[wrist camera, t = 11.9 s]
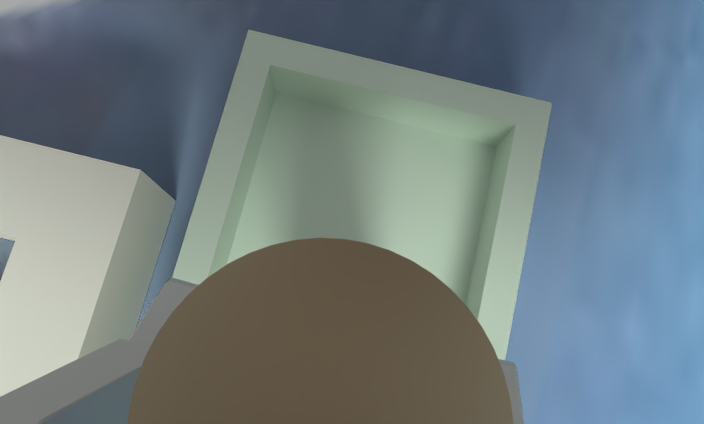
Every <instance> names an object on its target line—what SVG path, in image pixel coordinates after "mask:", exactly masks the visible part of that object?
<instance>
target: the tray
mask: <svg viewBox="0 0 704 424" xmlns="http://www.w3.org/2000/svg"><path fill="white" fill-rule="evenodd" d="M551 107H552V103H550V102H546V101H542V100H538V99H534V98H530V97H526V96H522V95H517V94H513V93H509V92H505V91H501V90H497V89H493V88H488V87H484V86H480V85H476V84H472V83H468V82H464V81H460V80H455V79H451V78H447V77H443V76H439V75H435V74H431V73H426V72H422V71H418V70H414V69H410V68H406V67H402V66H398V65H393V64H389V63H385V62H381V61H377V60H373V59H369V58H364V57H360V56H356V55H352V54H348V53H344V52H340V51H336V50H331V49H327V48H323V47H319V46H315V45H311V44H307V43H302V42H298V41H294V40H290V39H286V38H282V37H278V36H274V35H269V34H265V33H261V32H257V31H253V30H249V29H248V33H247V36H246V39H245V42H244V46H243V49H242V52H241V55H240V59H239V62H238V65H237V68H236V72H235V75H234V78H233V81H232V85H231V88H230V91H229V94H228V97H227V101H226V104H225V107H224V110H223V114H222V117H221V120H220V123H219V127H218V130H217V133H216V136H215V140H214V143H213V146H212V149H211V153H210V156H209V159H208V162H207V166H206V169H205V172H204V175H203V179H202V182H201V185H200V188H199V192H198V195H197V198H196V201H195V205H194V208H193V211H192V214H191V218H190V221H189V224H188V227H187V231H186V234H185V237H184V240H183V244H182V247H181V250H180V253H179V257H178V260H177V263H176V266H175V270H174V273H173V276H172V278H176V279H180V280H183V281H187V282H190V283H194V284H197V285H199V284H201V283H202V282H203V281H204V280H205V279H206V278H208V277H209V276H210V275H212V274H213V273H215V272H216V271H218V270H219V269H221V268H222V267H224V266H225V265H227V264H228V263H230V262H232V261H234V260H236V259H238V258H240V257H242V256H244V255H246V254H248V253H250V252H253V251H256V250H259V249H262V248H265V247H268V246H270V245H274V244H278V243H283V242H288V241H292V240H298V239H311V238H336V239H347V240H353V241H358V242H364V243H369V244H372V245H375V246H378V247H381V248H384V249H387V250H390V251H393V252H395V253H397V254H399V255H401V256H403V257H405V258H408V259H410V260H412V261H413V262H415V263H417V264H418V265H420V266H421V267H423V268H424V269H426V270H428V271H429V272H431V273H432V274H433V275H435V276H436V277H437V278H438V279H439V280H441V281H442V282H443V283H444V284H446V285H447V286H448V287H449V288H450V289H451V290H452V291H453V292H454V293H455V294H456V295H457V296H458V297H459V298H460V299H461V300H462V301H463V302H464V304H465V305H466V306H467V307H468V308H469V310H470V311H471V312H472V314H473V315H474V316H475V318H476V319H477V321H478V322H479V323H480V325H481V326H482V328H483V330H484V331H485V333H486V335H487V337H488V339H489V340H490V342H491V344H492V346H493V348H494V350H495V352H496V355H497V357H498V359H501V360H505V358H506V352H507V347H508V341H509V336H510V330H511V325H512V319H513V314H514V308H515V303H516V298H517V292H518V287H519V281H520V276H521V270H522V265H523V259H524V254H525V249H526V243H527V238H528V232H529V227H530V221H531V216H532V210H533V205H534V199H535V194H536V189H537V183H538V178H539V172H540V167H541V161H542V156H543V150H544V145H545V140H546V134H547V129H548V123H549V118H550V112H551Z"/></svg>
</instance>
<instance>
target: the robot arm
mask: <svg viewBox="0 0 704 424" xmlns="http://www.w3.org/2000/svg"><path fill="white" fill-rule="evenodd" d="M197 286H198V285H197V284H194V283H190V282H187V281H183V280H180V279H176V278H171V279H170V280H168V281H167V282H166V283H165V285H164V286H163V288H162V289H161V291H160V292H159V294H158V295H157V297H156V298H155V300H154V301H153V303H152V304H151V306H150V308H149V309H148V311H147V312H146V314H145V315H144V317H143V318H142V320H141V321H140V323H139V324H138V326H137V327H136V329H135V331H134V332H133V334H132V335H131V337H130V338H129V340H124V339H118V340H116V341H113V342H111V343H109V344H107V345H105V346H103V347H101V348H99V349H97V350H95V351H93V352H91V353H89V354H87V355H85V356H83V357H81V358H79V359H77V360H74V361H72V362H70V363H68V364H66V365H64V366H62V367H60V368H58V369H56V370H54V371H52V372H50V373H48V374H46V375H44V376H42V377H40V378H37V379H35V380H33V381H31V382H29V383H27V384H25V385H23V386H21V387H19V388H17V389H15V390H13V391H11V392H9V393H7V394H5V395H3V396H1V397H0V424H127V423H128V414H129V406H130V402H131V398H132V394H133V390H134V386H135V382H136V379H137V376H138V374H139V371H140V369H141V366H142V363H143V361H144V358H145V356H146V354H147V352H148V350H149V348H150V346H151V344H152V343H153V341H154V339H155V337H156V335H157V333H158V332H159V330H160V329H161V327H162V326H163V325H164V323H165V322H166V320H167V319H168V317H169V316H170V315H171V313H172V312H173V311H174V310H175V309H176V307H177V306H178V305H179V304H180V303H181V302H182V301H183V300H184V299H185V297H186V296H187V295H188V294H189V293H190V292H191V291H193V290H194V289H195V288H196V287H197ZM498 360H499V362H500V365H501V367H502V370H503V372H504V376H505V380H506V384H507V387H508V391H509V395H510V400H511V407H512V415H513V422H514V424H524V420H523V412H522V404H521V396H520V388H519V380H518V372H517V367H516V365H515V364H514V363H513V362H509V361H505V360H501V359H498Z"/></svg>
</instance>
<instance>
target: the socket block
mask: <svg viewBox="0 0 704 424" xmlns="http://www.w3.org/2000/svg"><path fill="white" fill-rule="evenodd" d="M175 202H176V201H175V200H174V199H173V198H172V197H171V196H170V195H169V194H168V193H166V192H165V191H164V190H163V189H162V188H161V187H160V186H158V185H157V184H156V183H155V182H154V181H153V180H152V179H151V178H149V177H148V176H147V175H146V174H145V173H144V172H143V171H141V170H140V169H136V168H132V167H127V166H123V165H119V164H115V163H111V162H107V161H103V160H99V159H95V158H91V157H87V156H83V155H79V154H75V153H71V152H67V151H63V150H58V149H54V148H50V147H46V146H42V145H38V144H34V143H30V142H26V141H22V140H18V139H14V138H10V137H6V136H2V135H0V238H4V239H8V240H12V241H15V243H14V246H13V248H12V251H11V254H10V256H9V259H8V262H7V265H6V267H5V270H4V273H3V275H2V278H1V281H0V397H1V396H3V395H5V394H7V393H9V392H11V391H13V390H15V389H17V388H19V387H21V386H23V385H25V384H27V383H29V382H31V381H33V380H35V379H37V378H40V377H42V376H44V375H46V374H48V373H50V372H52V371H54V370H56V369H58V368H60V367H62V366H64V365H66V364H68V363H70V362H72V361H74V360H77V359H79V358H81V357H83V356H85V355H87V354H89V353H91V352H93V351H95V350H97V349H99V348H101V347H103V346H105V345H107V344H109V343H111V342H113V341H116V340H118V339H124V340H129V338H130V337H131V335H132V334H133V332H134V331H135V329H136V326H137V323H138V320H139V317H140V313H141V310H142V307H143V304H144V301H145V298H146V294H147V291H148V288H149V285H150V282H151V279H152V275H153V272H154V269H155V266H156V263H157V260H158V256H159V253H160V250H161V247H162V244H163V240H164V237H165V234H166V231H167V228H168V225H169V221H170V218H171V215H172V212H173V209H174V206H175Z"/></svg>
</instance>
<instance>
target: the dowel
mask: <svg viewBox="0 0 704 424" xmlns="http://www.w3.org/2000/svg"><path fill="white" fill-rule="evenodd" d="M127 424H514V422H513V415H512V407H511V400H510V395H509V391H508V387H507V384H506V380H505V376H504V372H503V370H502V367H501V365H500V362H499V360H498V357H497V355H496V352H495V350H494V348H493V346H492V344H491V342H490V340H489V339H488V337H487V335H486V333H485V331H484V330H483V328H482V326H481V325H480V323H479V322H478V321H477V319H476V318H475V316H474V315H473V314H472V312H471V311H470V310H469V308H468V307H467V306H466V305H465V304H464V302H463V301H462V300H461V299H460V298H459V297H458V296H457V295H456V294H455V293H454V292H453V291H452V290H451V289H450V288H449V287H448V286H447V285H446V284H444V283H443V282H442V281H441V280H439V279H438V278H437V277H436V276H435V275H433V274H432V273H431V272H429V271H428V270H426V269H424V268H423V267H421V266H420V265H418V264H417V263H415V262H413V261H412V260H410V259H408V258H405V257H403V256H401V255H399V254H397V253H395V252H393V251H390V250H387V249H384V248H381V247H378V246H375V245H372V244H369V243H364V242H358V241H353V240H347V239H336V238H311V239H298V240H292V241H288V242H283V243H278V244H274V245H270V246H268V247H265V248H262V249H259V250H256V251H253V252H250V253H248V254H246V255H244V256H242V257H240V258H238V259H236V260H234V261H232V262H230V263H228V264H227V265H225V266H224V267H222V268H221V269H219V270H218V271H216V272H215V273H213V274H212V275H210V276H209V277H208V278H206V279H205V280H204V281H203V282H202V283H201V284H199V285H198V286H197V287H196V288H195V289H194V290H193V291H191V292H190V293H189V294H188V295H187V296H186V297H185V299H184V300H183V301H182V302H181V303H180V304H179V305H178V306H177V307H176V309H175V310H174V311H173V312H172V313H171V315H170V316H169V317H168V319H167V320H166V322H165V323H164V325H163V326H162V327H161V329H160V330H159V332H158V333H157V335H156V337H155V339H154V341H153V343H152V344H151V346H150V348H149V350H148V352H147V354H146V356H145V358H144V361H143V363H142V366H141V369H140V371H139V374H138V376H137V379H136V382H135V386H134V390H133V394H132V398H131V402H130V406H129V414H128V423H127Z"/></svg>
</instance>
